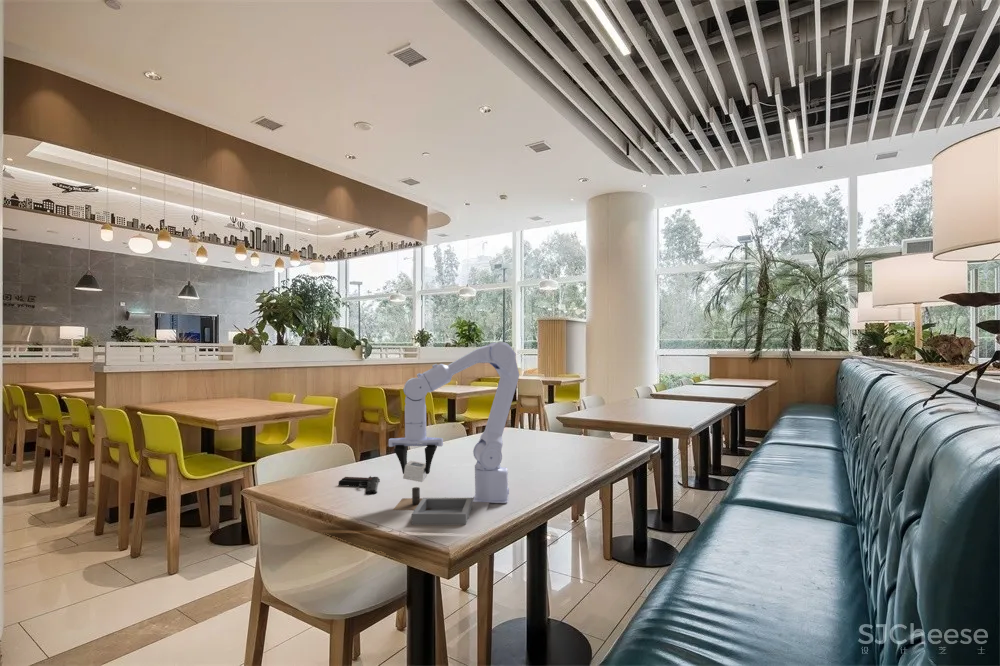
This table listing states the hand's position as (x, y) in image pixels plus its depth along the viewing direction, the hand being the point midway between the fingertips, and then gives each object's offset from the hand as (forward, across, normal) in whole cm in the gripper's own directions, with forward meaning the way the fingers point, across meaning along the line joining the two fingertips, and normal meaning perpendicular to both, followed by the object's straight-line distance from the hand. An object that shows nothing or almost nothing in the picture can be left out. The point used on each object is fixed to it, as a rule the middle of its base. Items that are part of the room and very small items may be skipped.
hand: (416, 473), depth 134 cm
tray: (+9, +9, -9) cm, 15 cm away
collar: (+1, 0, 0) cm, 1 cm away
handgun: (+10, -22, +17) cm, 29 cm away
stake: (+9, 0, 0) cm, 9 cm away
